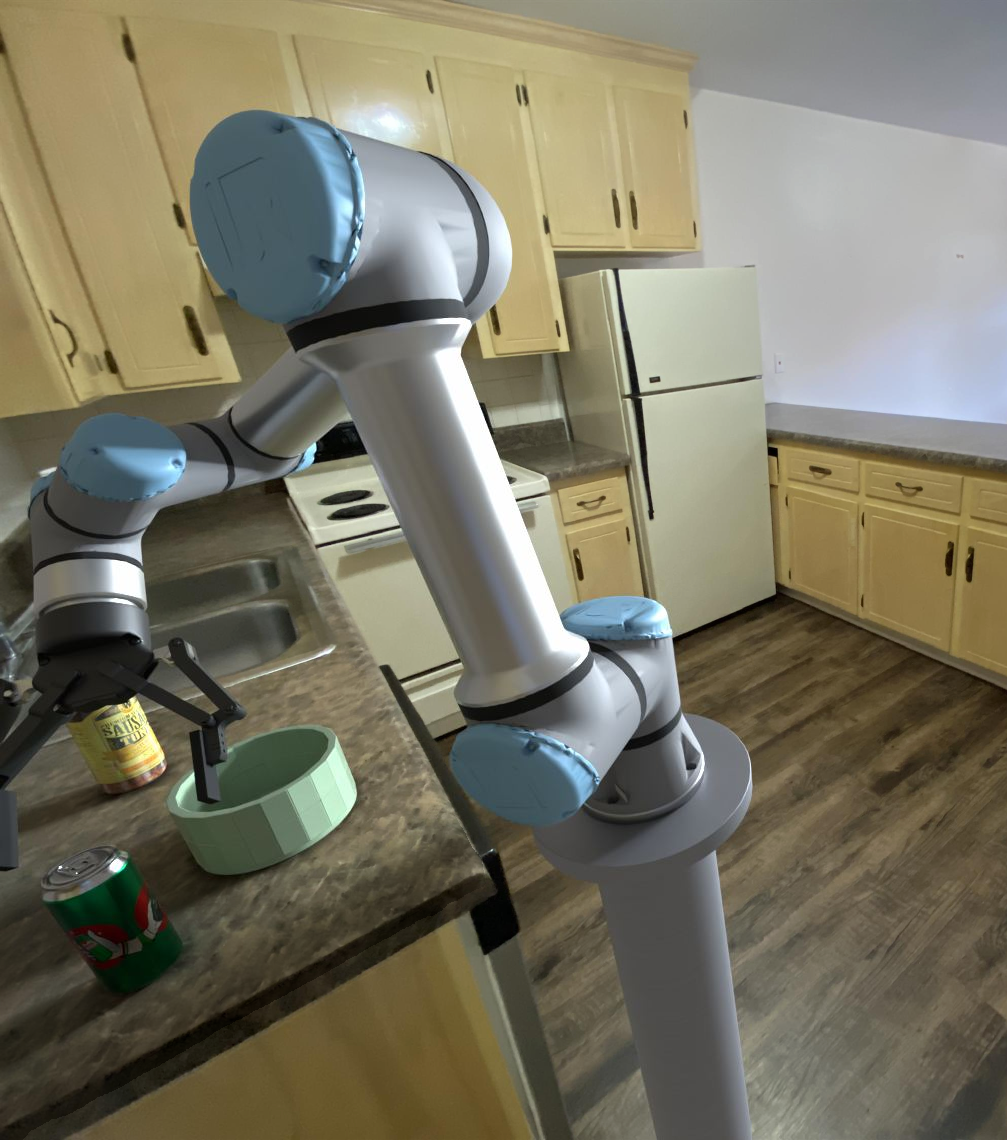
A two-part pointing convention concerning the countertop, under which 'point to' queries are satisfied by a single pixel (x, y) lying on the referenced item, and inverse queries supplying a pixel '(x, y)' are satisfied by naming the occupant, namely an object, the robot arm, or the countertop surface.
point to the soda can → (111, 918)
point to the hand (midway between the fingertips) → (111, 833)
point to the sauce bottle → (118, 746)
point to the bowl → (266, 800)
